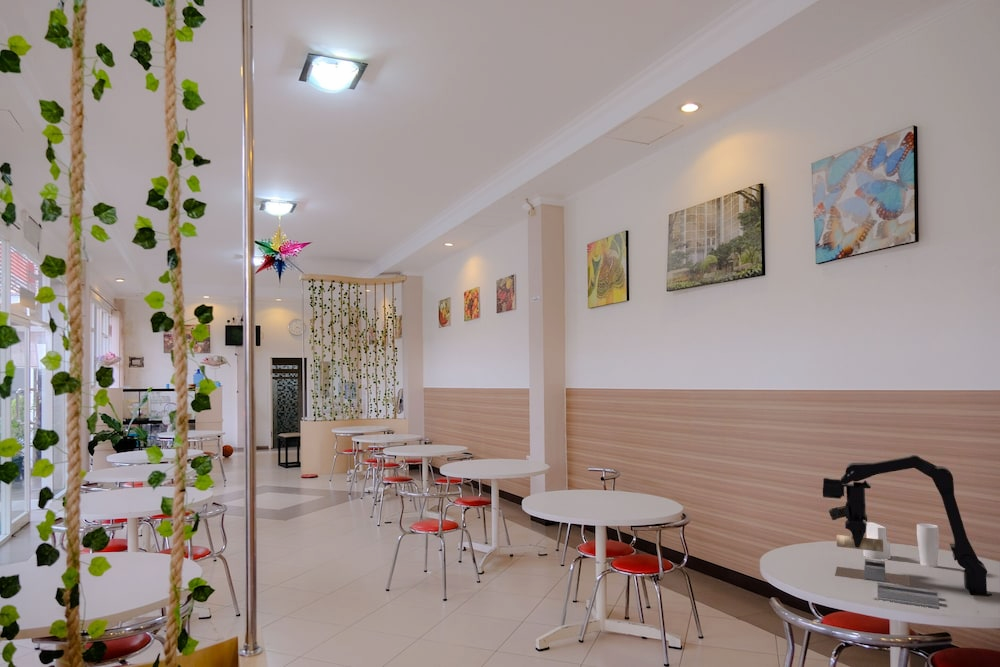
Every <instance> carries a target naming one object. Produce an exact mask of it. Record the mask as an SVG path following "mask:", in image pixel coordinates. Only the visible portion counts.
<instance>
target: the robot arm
mask: <svg viewBox="0 0 1000 667" xmlns="http://www.w3.org/2000/svg"><path fill="white" fill-rule="evenodd" d="M910 469H916V470H917V471H919V472H920V473H923V474H924V475H926V476H927V477H929V478H931V479H932V481H933V484H934V485H935V487H936V489H937V490H938V493H939V495H940V496H941V500H942V503H943V507H944V509H945V513H946V516H947V519H948V524H949V526H950V530H951V533H952V537H953V543H949V547H950V550H951V551H952V557H953V560H954V561H956V562H957V564H958V565H959V566H960V567H961V568H963V585H964V589H965V590H967V591H968V592H969V594H970V595H972V596H993V593H992V592H989V591H988V589H987V587H988V586H987V585H988V584H987V574H988V570H987V568H986V566H985V564H984V563H983V562H982V561H981V560H980V559H979V558H978V556H977V553H976V552H975V550H974V549H973V546H972V545H971V542H970V540H969V539H968V535H967V532H966V529H965V527H964V522H963V520H962V516H961V512H960V509H959V507H958V504H957V500H956V496H955V487H954V486H955V485H954V484H955V483H954V476H953V474H952V473H951V470H949V469H948V468H947V467H945V466H940V465H935V464H933V463H932V462H929V461H927V460H926V459H924V458H921V457H920V456H919V455H916V454H912V455H909V456H904V457H899V458H893V459H889V460H882V461H877V462H851V463H849V464H847V466H846V469H845V472H844V475H843V476H841V478H840V479H838V478H829V477H824V478H823V481H822V483H823V484H822V485H823V487H822V497H823V498H825V499H827V498H828V499H836V500H837V499H839V500H841V499H842V498H843V497H845V493H846V502H845V505H842V506H836V507H832V508H829V510H828V512H829V513H828V514H829V516H830V518H831V520H832V521H835V520H837V519H841V518H845V519H846V520H845V522H844V523H845V524H844V526H845V529H846V530H848V531H850V533H851V536H853V540H854V543H855V547H859V546H860V544H861V541H862V539H863V538H864V537H865V534H866V526H867V522H868V514H867V513H866V512H867V510H866V509H867V508H866V505H867V503H866V489H871V487H872V485H871V484H869V482H868V481H867V480H866V479H868V478H871V477H873V476H876V475H881V474H887V473H892V472H897V471H903V470H904V471H905V470H910ZM863 480H864V481H863ZM861 481H863V482H861ZM851 482H853V483H851ZM850 483H851V484H850ZM845 488H846V492H845Z"/></svg>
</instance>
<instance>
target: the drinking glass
mask: <svg viewBox="0 0 1000 667" xmlns="http://www.w3.org/2000/svg"><path fill="white" fill-rule="evenodd" d="M939 530H940V529H939V526H938V525H936V524H933V523H921V522H920V523H917V524H916V539H917V540H916V541H917V547H918V548H917V549H918V555H919V564H920V565H921V566H924V567H928V568H938V566H939V565H938V564H939V561H938V560H939V548H940V547H939V545H940V532H939Z"/></svg>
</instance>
